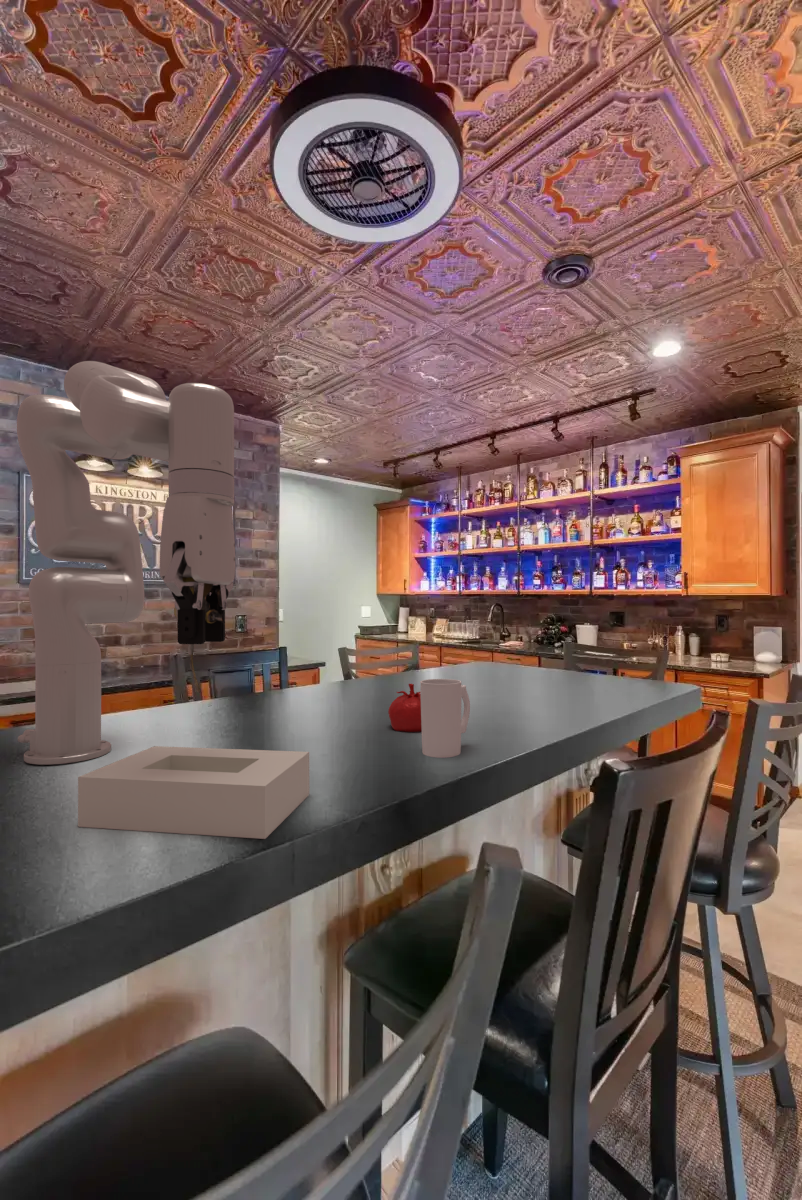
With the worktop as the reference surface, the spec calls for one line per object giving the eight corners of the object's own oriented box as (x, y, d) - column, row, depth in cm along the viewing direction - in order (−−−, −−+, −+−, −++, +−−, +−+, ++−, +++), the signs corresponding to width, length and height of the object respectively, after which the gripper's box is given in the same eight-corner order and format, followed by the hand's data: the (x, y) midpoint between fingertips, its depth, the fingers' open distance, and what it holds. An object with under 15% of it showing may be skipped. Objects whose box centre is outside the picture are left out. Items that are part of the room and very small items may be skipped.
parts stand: (78, 826, 62) (78, 777, 62) (154, 786, 76) (154, 746, 76) (265, 838, 58) (265, 786, 58) (309, 794, 72) (309, 751, 72)
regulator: (167, 693, 67) (165, 569, 67) (193, 688, 71) (191, 570, 70) (212, 699, 64) (210, 567, 63) (237, 693, 67) (235, 568, 67)
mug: (440, 762, 86) (439, 685, 86) (412, 754, 92) (411, 681, 92) (484, 751, 93) (483, 679, 93) (455, 744, 98) (455, 676, 98)
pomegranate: (433, 738, 103) (433, 688, 103) (382, 735, 106) (381, 686, 106) (444, 727, 112) (443, 681, 113) (396, 724, 115) (396, 679, 115)
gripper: (208, 505, 76) (208, 639, 76) (129, 477, 60) (129, 647, 60) (259, 503, 75) (260, 639, 75) (193, 473, 59) (193, 648, 58)
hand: (202, 641), depth 67 cm, fingers closed on regulator, 4 cm apart
